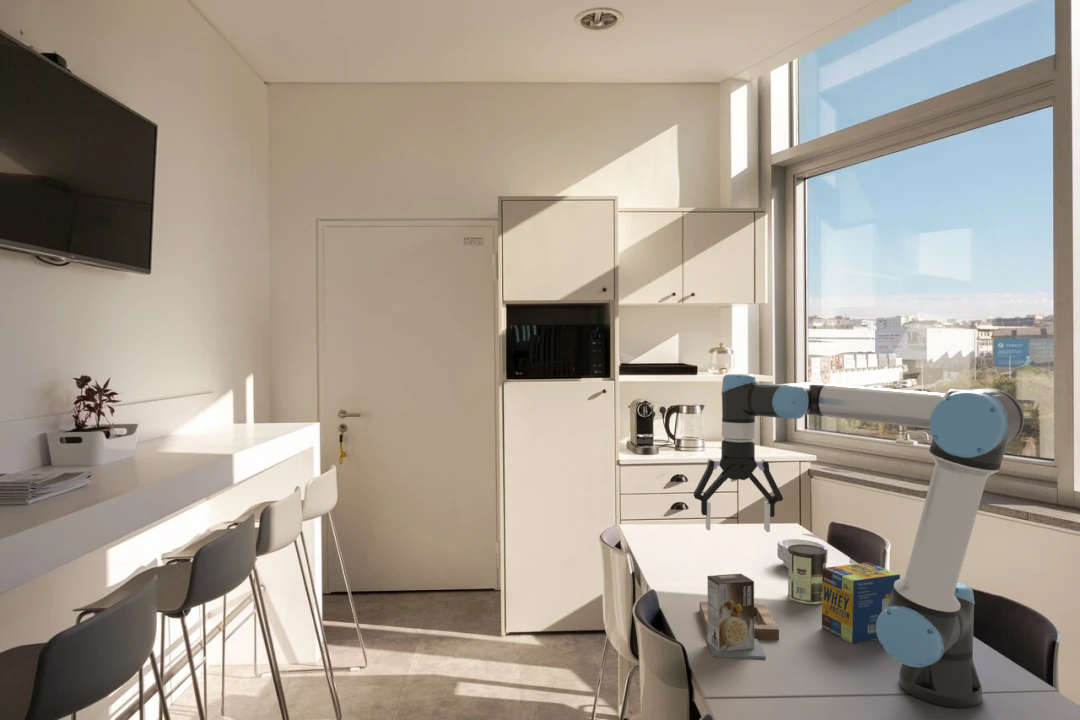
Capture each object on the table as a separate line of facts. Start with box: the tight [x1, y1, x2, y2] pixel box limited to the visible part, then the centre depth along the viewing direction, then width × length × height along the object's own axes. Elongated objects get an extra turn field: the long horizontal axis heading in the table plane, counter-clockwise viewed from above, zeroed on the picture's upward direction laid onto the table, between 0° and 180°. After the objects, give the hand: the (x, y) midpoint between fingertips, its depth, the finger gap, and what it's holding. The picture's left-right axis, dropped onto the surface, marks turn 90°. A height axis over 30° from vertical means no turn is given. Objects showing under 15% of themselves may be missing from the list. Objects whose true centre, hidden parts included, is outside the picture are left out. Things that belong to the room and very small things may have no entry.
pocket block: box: [699, 601, 780, 640], centre depth 183 cm, size 17×17×2 cm
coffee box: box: [707, 573, 755, 652], centre depth 169 cm, size 9×6×16 cm
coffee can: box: [787, 544, 827, 605], centre depth 203 cm, size 10×10×14 cm
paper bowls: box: [777, 538, 829, 569], centre depth 230 cm, size 15×15×8 cm
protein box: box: [821, 561, 901, 644], centre depth 179 cm, size 10×15×16 cm
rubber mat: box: [706, 635, 767, 660], centre depth 169 cm, size 10×12×1 cm
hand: (737, 529), depth 168 cm, fingers open, 13 cm apart
